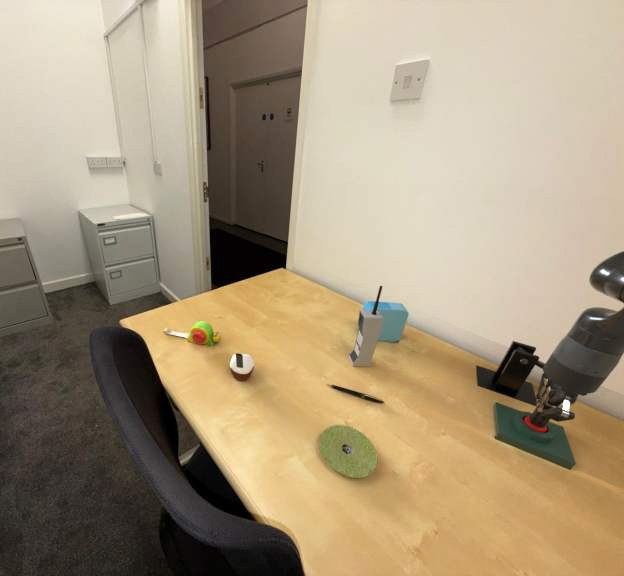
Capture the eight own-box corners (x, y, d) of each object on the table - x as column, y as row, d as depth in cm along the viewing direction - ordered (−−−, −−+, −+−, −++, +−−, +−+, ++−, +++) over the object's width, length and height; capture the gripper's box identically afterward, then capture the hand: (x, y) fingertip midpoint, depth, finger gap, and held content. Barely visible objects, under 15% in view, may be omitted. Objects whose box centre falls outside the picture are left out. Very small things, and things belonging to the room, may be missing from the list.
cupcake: (240, 362, 85) (241, 327, 80) (259, 370, 82) (261, 335, 77) (220, 382, 78) (220, 346, 72) (241, 393, 75) (241, 356, 70)
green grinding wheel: (387, 473, 58) (390, 467, 57) (337, 490, 55) (339, 485, 54) (352, 425, 67) (354, 419, 67) (308, 437, 65) (309, 431, 64)
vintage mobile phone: (348, 357, 88) (366, 282, 76) (365, 358, 87) (386, 282, 76) (352, 366, 84) (371, 289, 72) (369, 367, 84) (392, 289, 72)
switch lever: (574, 382, 72) (584, 377, 70) (581, 397, 68) (591, 392, 66) (510, 348, 76) (518, 342, 75) (513, 360, 72) (521, 354, 71)
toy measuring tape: (216, 351, 89) (215, 333, 86) (159, 337, 95) (157, 320, 91) (224, 339, 95) (223, 321, 91) (170, 326, 100) (168, 310, 97)
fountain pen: (324, 387, 77) (325, 383, 77) (325, 384, 78) (326, 380, 78) (384, 406, 72) (385, 401, 72) (384, 402, 73) (385, 398, 73)
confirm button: (541, 426, 65) (545, 421, 64) (544, 439, 62) (549, 433, 61) (520, 418, 67) (524, 413, 66) (522, 430, 64) (526, 425, 63)
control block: (558, 433, 66) (567, 421, 65) (570, 470, 59) (581, 458, 57) (491, 407, 72) (498, 396, 70) (494, 439, 65) (502, 427, 63)
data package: (394, 334, 98) (404, 303, 92) (399, 342, 94) (410, 310, 89) (357, 331, 99) (364, 300, 94) (360, 339, 95) (368, 307, 90)
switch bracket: (529, 386, 79) (554, 348, 73) (536, 409, 72) (563, 370, 66) (474, 368, 84) (493, 331, 78) (475, 388, 78) (496, 349, 72)
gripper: (624, 393, 49) (567, 457, 57) (597, 349, 59) (552, 410, 67) (562, 374, 52) (517, 437, 61) (546, 336, 62) (509, 395, 70)
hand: (535, 423), depth 64 cm, fingers closed
